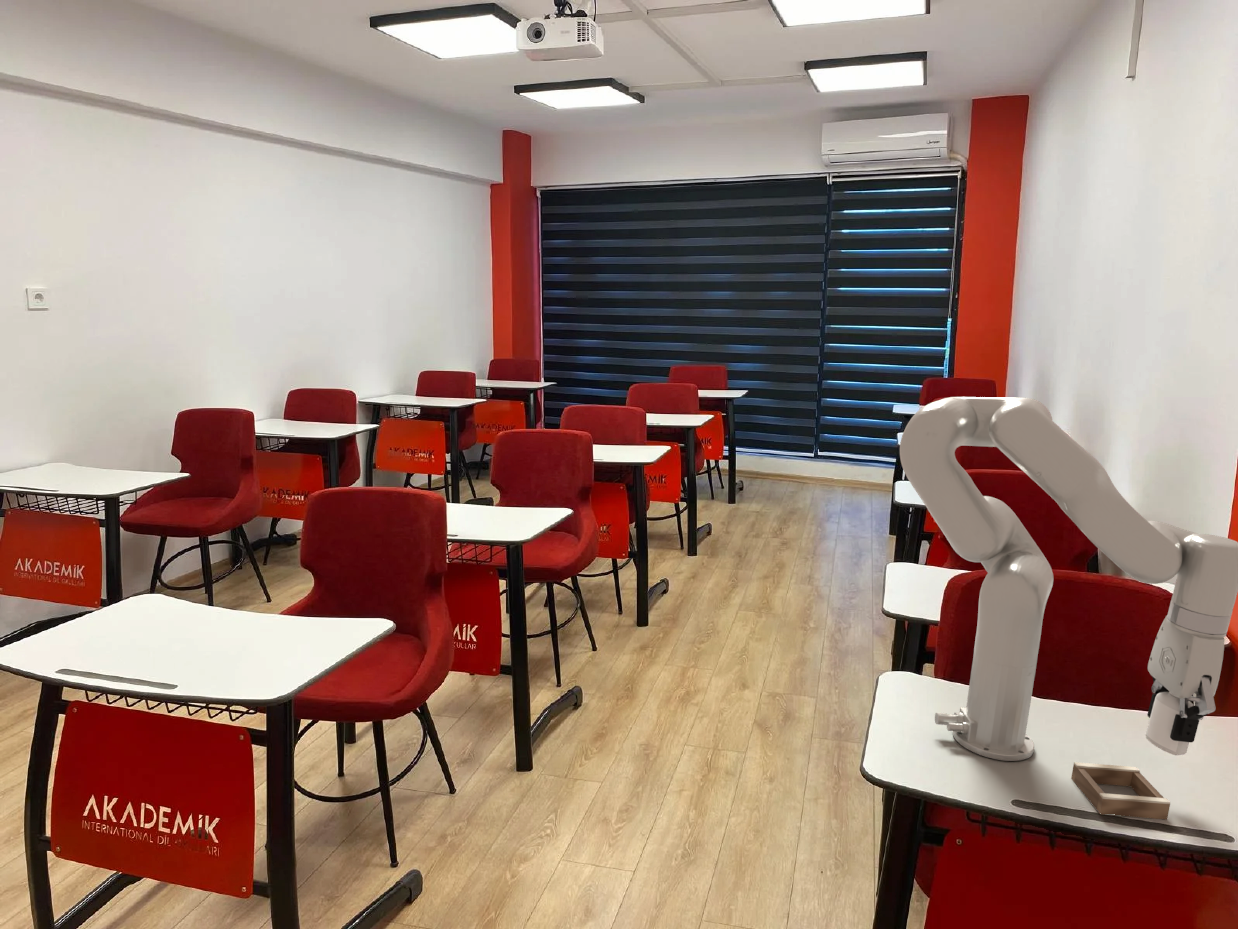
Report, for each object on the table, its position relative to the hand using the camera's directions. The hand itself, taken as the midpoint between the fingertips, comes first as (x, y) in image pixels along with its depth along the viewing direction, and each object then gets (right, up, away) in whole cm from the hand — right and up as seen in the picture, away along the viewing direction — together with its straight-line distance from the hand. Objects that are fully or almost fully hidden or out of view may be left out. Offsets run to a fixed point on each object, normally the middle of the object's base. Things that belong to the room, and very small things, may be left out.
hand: (1169, 728), depth 132 cm
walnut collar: (-8, -10, 0) cm, 13 cm away
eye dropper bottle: (0, -3, +1) cm, 3 cm away
